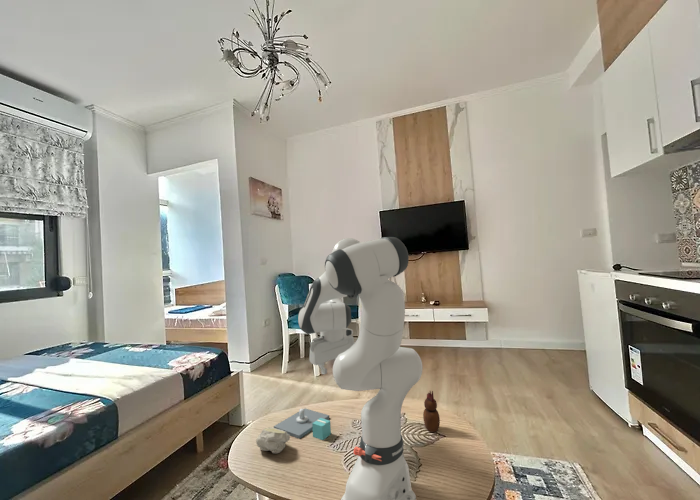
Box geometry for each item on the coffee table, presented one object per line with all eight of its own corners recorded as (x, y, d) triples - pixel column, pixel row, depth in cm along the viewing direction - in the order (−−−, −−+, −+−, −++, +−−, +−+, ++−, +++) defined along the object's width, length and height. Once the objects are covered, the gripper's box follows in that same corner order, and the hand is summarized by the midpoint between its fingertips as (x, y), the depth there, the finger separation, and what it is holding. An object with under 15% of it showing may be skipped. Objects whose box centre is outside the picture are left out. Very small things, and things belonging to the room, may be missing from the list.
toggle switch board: (299, 438, 119) (298, 423, 119) (273, 429, 127) (273, 414, 127) (329, 418, 133) (328, 404, 134) (304, 411, 141) (304, 398, 142)
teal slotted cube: (322, 440, 117) (322, 425, 117) (312, 436, 120) (312, 422, 120) (330, 434, 121) (330, 419, 121) (321, 431, 123) (320, 417, 124)
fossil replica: (261, 442, 118) (252, 461, 108) (258, 421, 117) (249, 438, 107) (293, 439, 117) (287, 457, 107) (290, 417, 117) (284, 433, 107)
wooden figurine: (442, 434, 117) (439, 392, 118) (426, 434, 117) (423, 393, 118) (437, 424, 124) (435, 385, 124) (422, 425, 124) (420, 386, 124)
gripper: (315, 340, 112) (317, 380, 112) (356, 329, 126) (357, 364, 126) (304, 338, 116) (306, 376, 116) (345, 327, 131) (346, 361, 131)
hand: (333, 369), depth 121 cm, fingers open, 8 cm apart
